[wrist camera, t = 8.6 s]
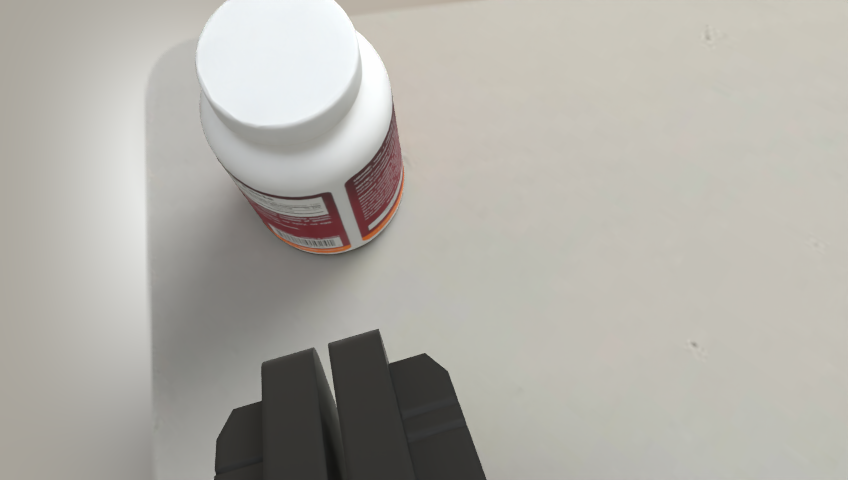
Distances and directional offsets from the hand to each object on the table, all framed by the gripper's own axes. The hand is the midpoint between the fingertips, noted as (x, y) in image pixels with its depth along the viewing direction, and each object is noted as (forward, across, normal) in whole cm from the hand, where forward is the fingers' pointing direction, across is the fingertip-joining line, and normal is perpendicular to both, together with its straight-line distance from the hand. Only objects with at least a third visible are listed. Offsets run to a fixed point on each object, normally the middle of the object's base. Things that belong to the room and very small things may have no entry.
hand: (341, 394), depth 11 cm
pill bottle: (+22, 0, -6) cm, 23 cm away
